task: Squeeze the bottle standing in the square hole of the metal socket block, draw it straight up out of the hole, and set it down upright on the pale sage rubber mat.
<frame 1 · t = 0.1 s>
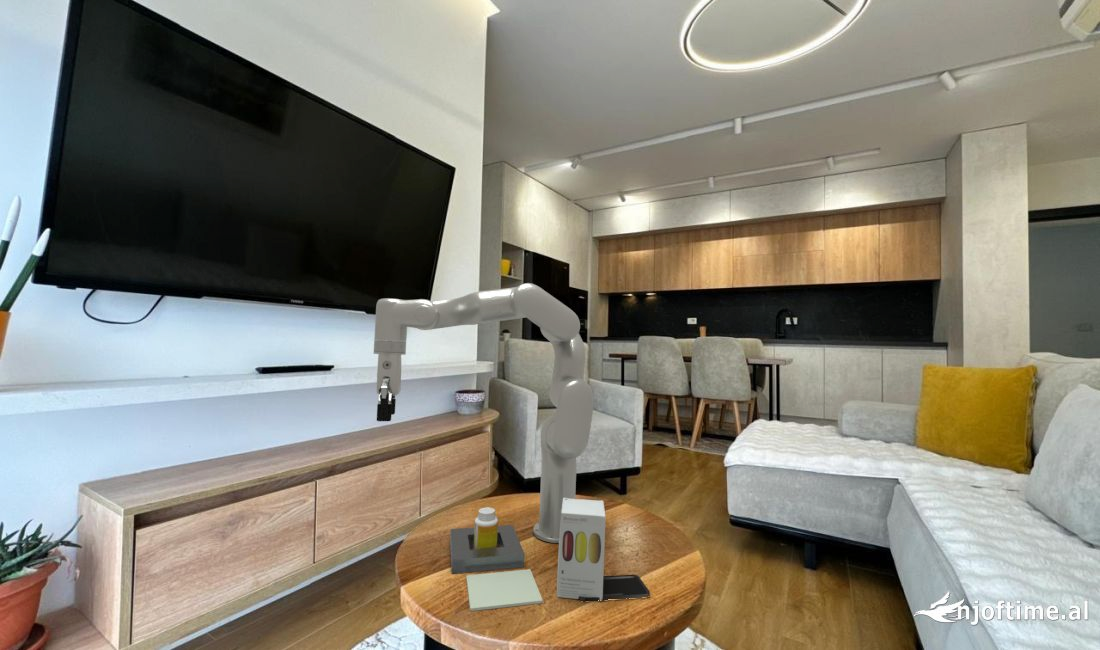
hand: (386, 417, 107), 31 cm above the table, tool pointing down, fingers open, 9 cm apart
phone: (610, 592, 90), on the table
sage mat: (502, 589, 88), on the table
socket block: (484, 553, 103), on the table
supplement bottle: (484, 554, 103), resting in socket block
supplement box: (580, 588, 90), resting on phone
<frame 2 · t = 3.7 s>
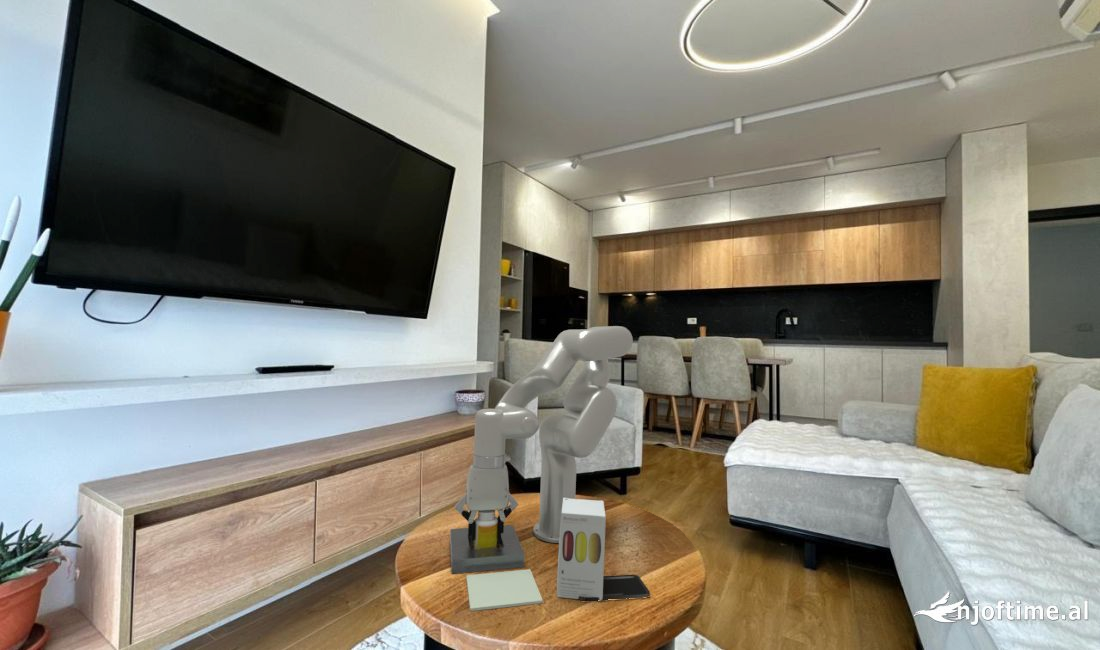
hand: (485, 536, 104), 4 cm above the table, tool pointing down, fingers closed on supplement bottle, 5 cm apart
supplement bottle: (484, 554, 103), resting in socket block, touching gripper
everything else where it was.
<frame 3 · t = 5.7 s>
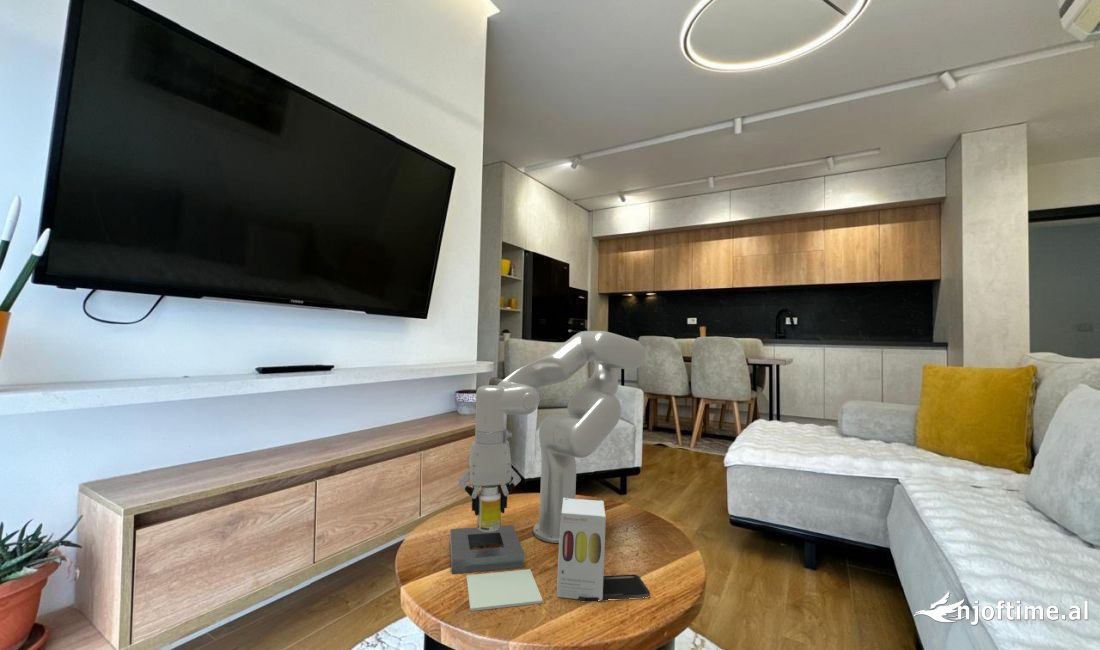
hand: (489, 511, 104), 10 cm above the table, tool pointing down, fingers closed on supplement bottle, 5 cm apart
supplement bottle: (488, 529, 104), point 6 cm above the table, touching gripper
everything else where it was.
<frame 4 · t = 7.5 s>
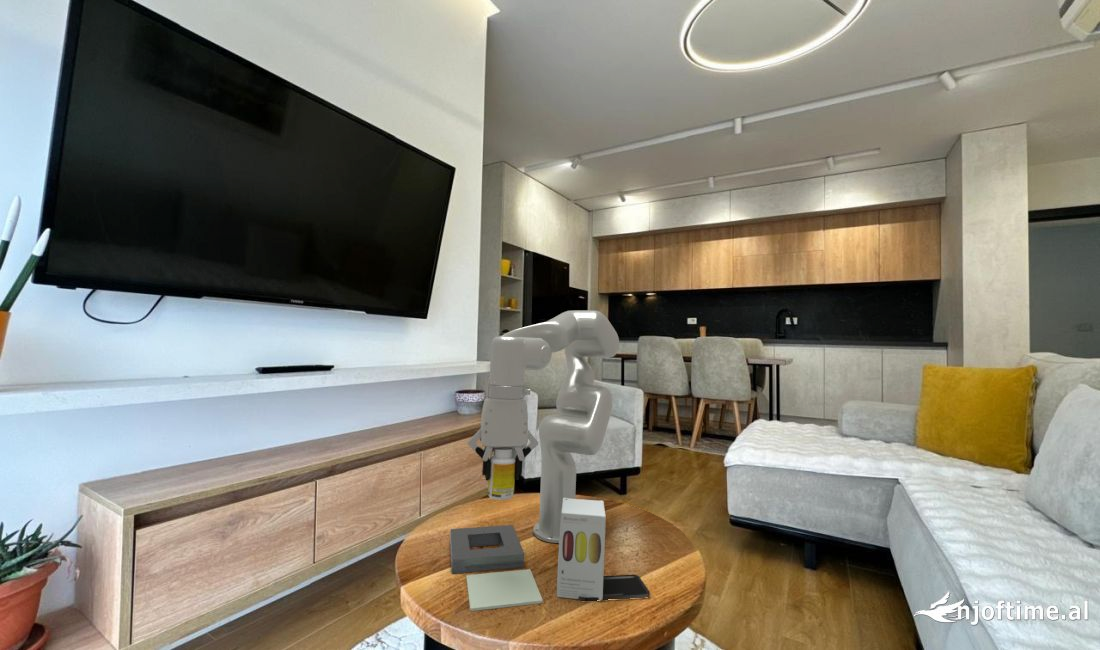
hand: (501, 477, 92), 22 cm above the table, tool pointing down, fingers closed on supplement bottle, 5 cm apart
supplement bottle: (500, 497, 92), point 18 cm above the table, touching gripper
everything else where it was.
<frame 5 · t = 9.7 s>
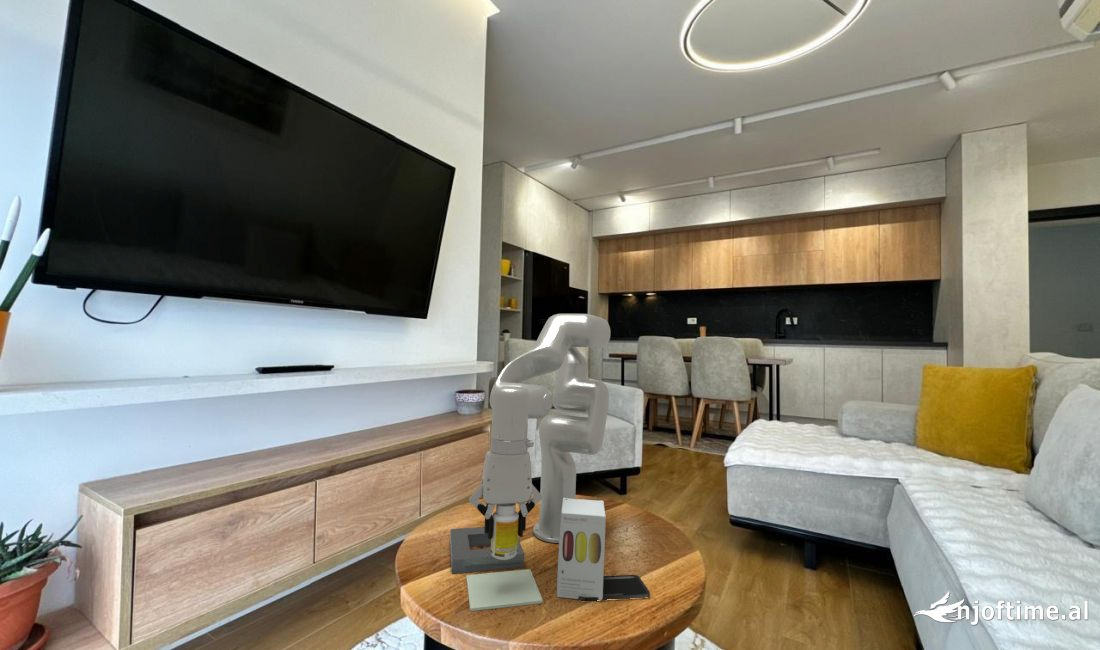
hand: (504, 534, 89), 11 cm above the table, tool pointing down, fingers closed on supplement bottle, 5 cm apart
supplement bottle: (503, 555, 89), point 7 cm above the table, touching gripper
everything else where it was.
when the fingers open (6 cm above the table, at t = 11.6 s): supplement bottle drops 1 cm, resting on sage mat.
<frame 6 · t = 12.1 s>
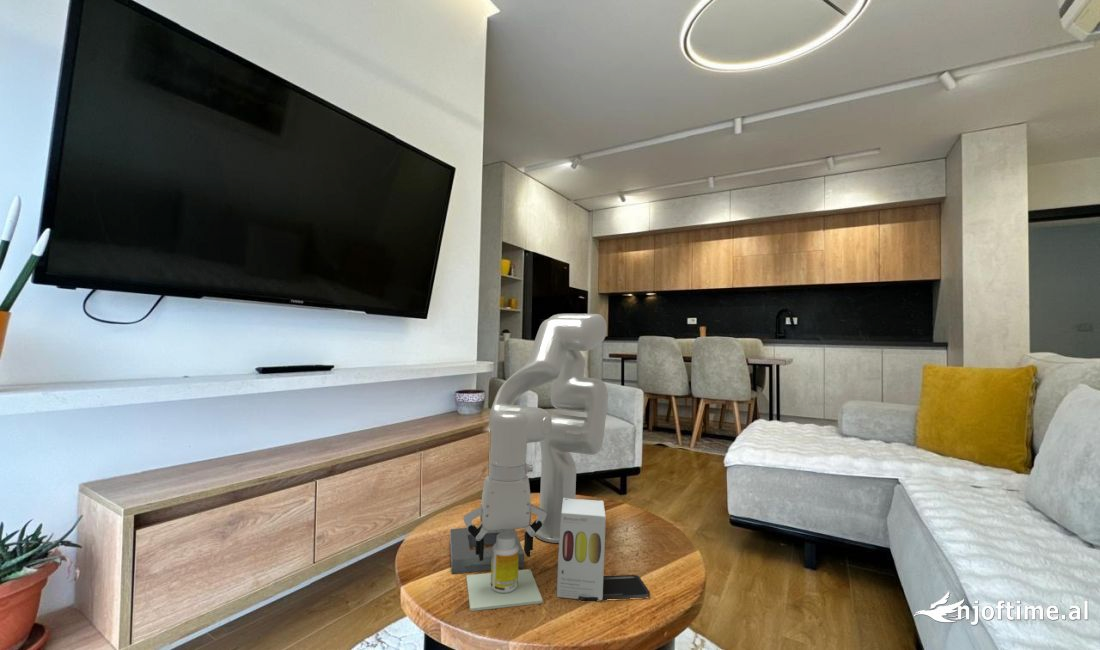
hand: (504, 555, 89), 7 cm above the table, tool pointing down, fingers open, 9 cm apart
supplement bottle: (503, 587, 89), resting on sage mat
everything else where it was.
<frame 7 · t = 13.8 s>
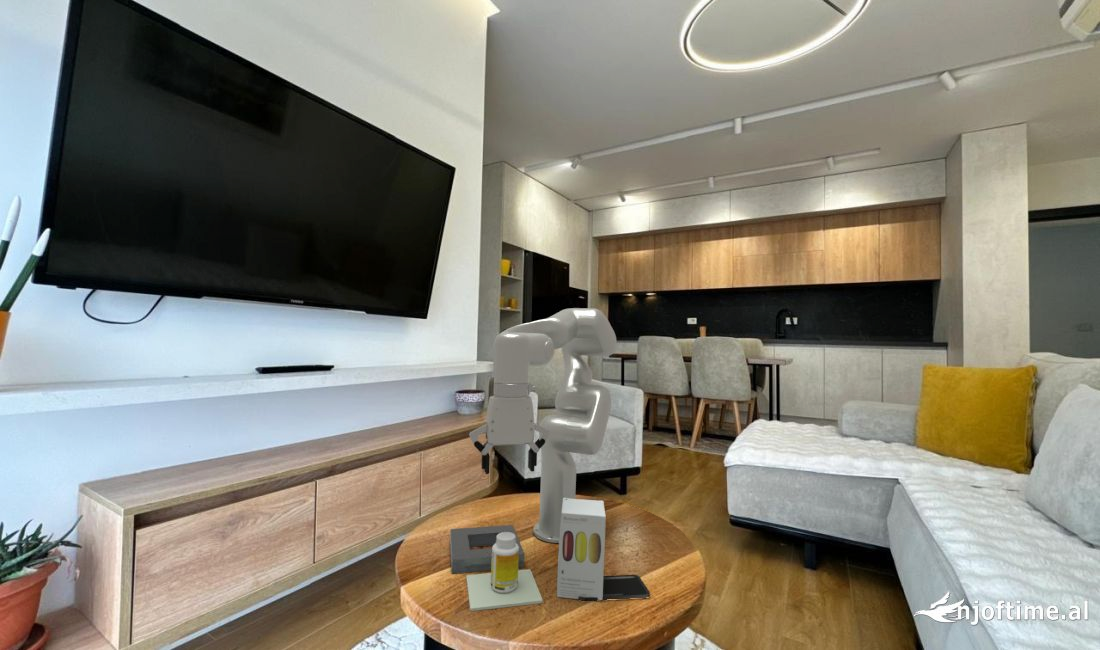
hand: (509, 470, 92), 23 cm above the table, tool pointing down, fingers open, 9 cm apart
nothing on the table moved.
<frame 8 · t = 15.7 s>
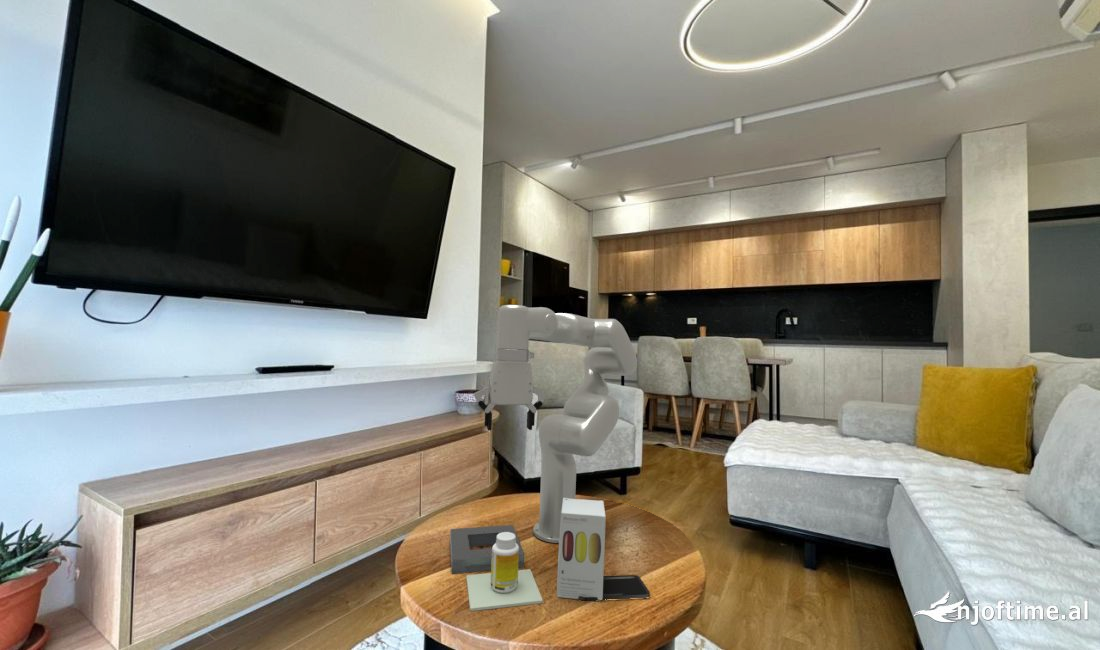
hand: (509, 429, 102), 30 cm above the table, tool pointing down, fingers open, 9 cm apart
nothing on the table moved.
at the end: supplement bottle inside the target area on the sage mat (0.4 cm from its centre), point 0.3 cm above the sage mat's base; supplement bottle tilted 0°; the gripper is holding nothing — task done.
